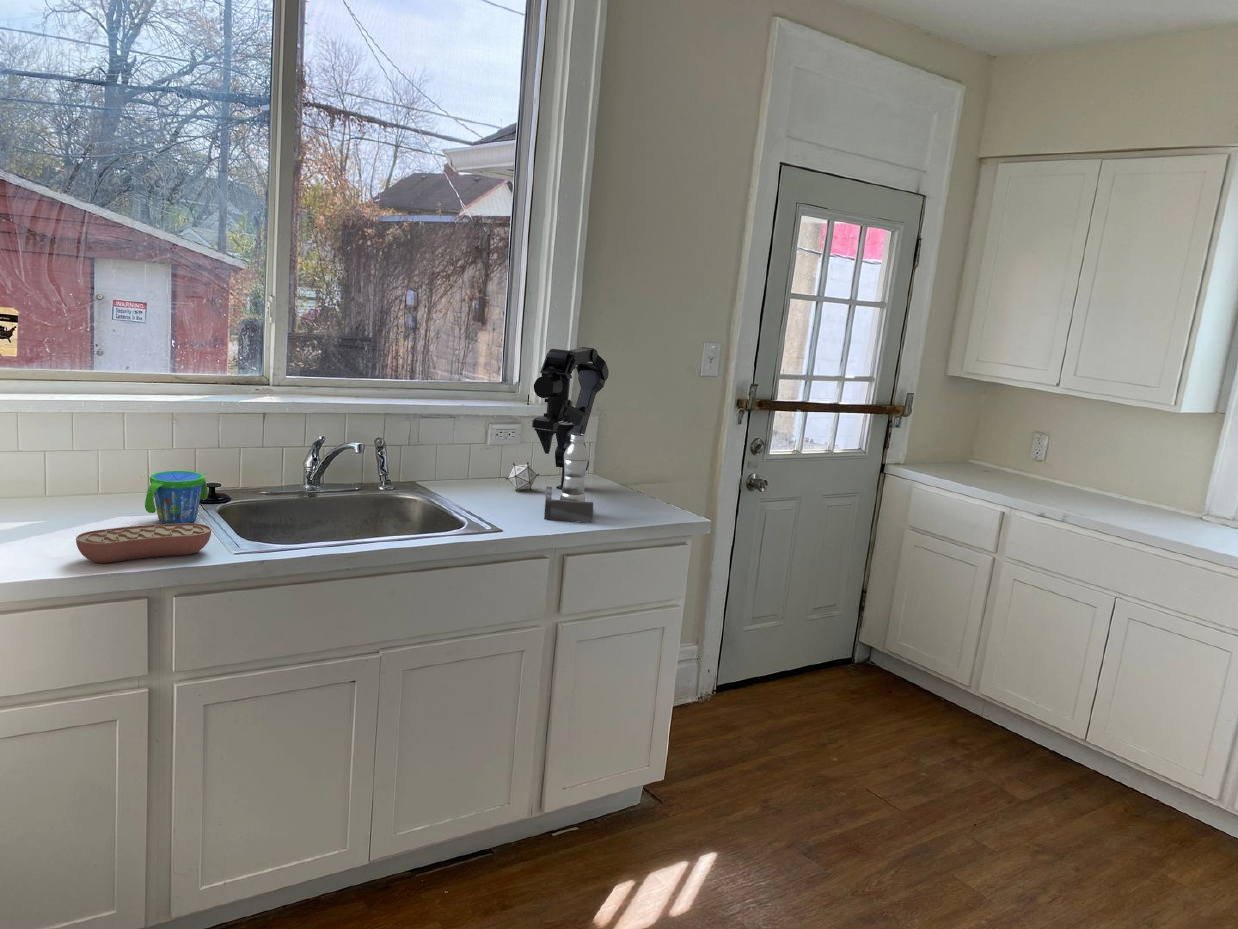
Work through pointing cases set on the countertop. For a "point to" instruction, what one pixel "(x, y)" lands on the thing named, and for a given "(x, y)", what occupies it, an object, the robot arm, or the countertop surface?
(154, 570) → the countertop surface
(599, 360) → the robot arm
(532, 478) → the game die
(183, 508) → the snack cup
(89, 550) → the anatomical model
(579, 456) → the plastic bottle
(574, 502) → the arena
